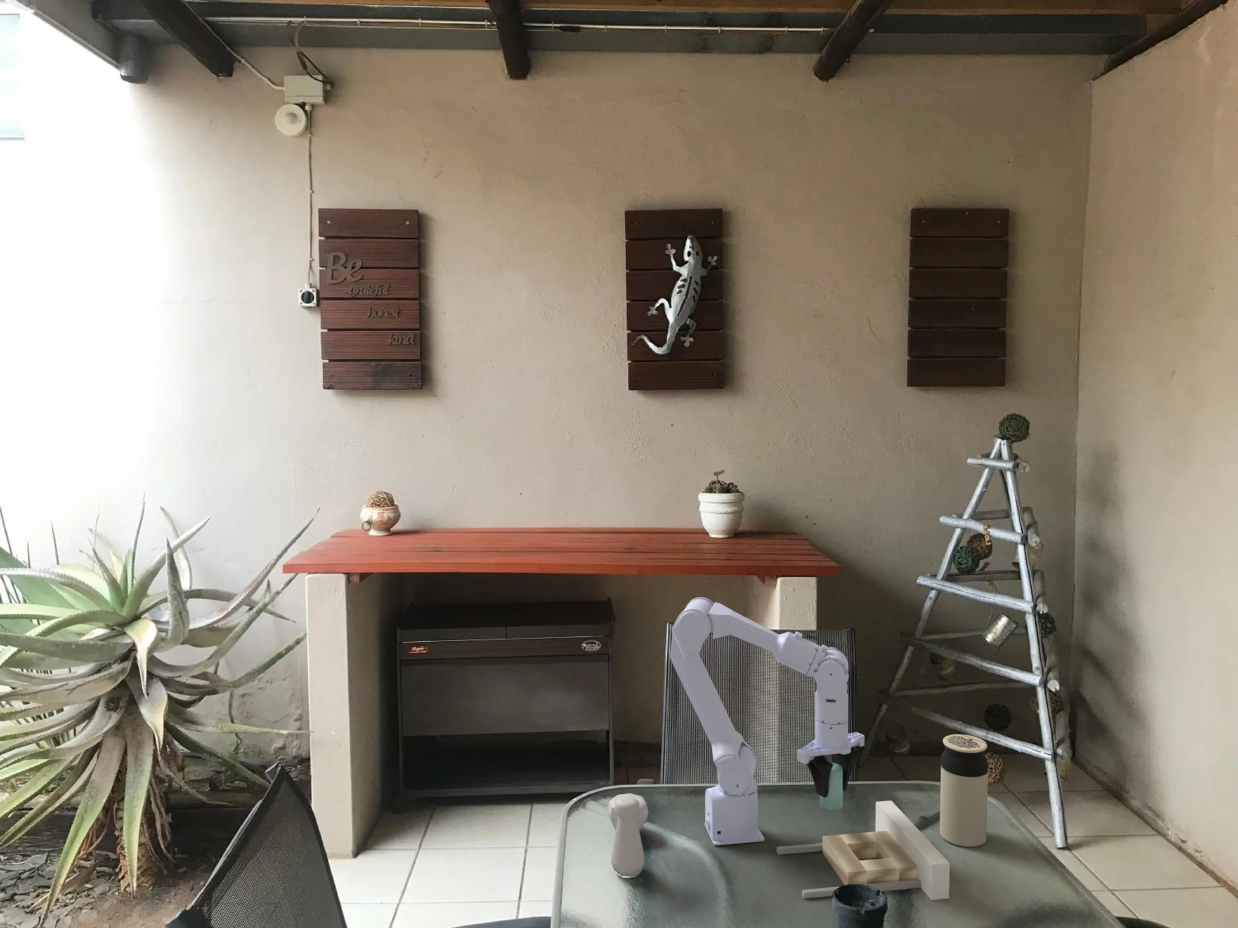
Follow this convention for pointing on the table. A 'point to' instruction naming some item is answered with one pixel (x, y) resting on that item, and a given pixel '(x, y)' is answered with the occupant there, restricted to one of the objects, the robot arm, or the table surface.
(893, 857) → the socket block
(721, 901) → the table surface
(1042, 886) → the table surface
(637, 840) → the salt shaker
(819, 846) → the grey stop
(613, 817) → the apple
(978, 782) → the travel mug
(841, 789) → the dowel
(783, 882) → the table surface
